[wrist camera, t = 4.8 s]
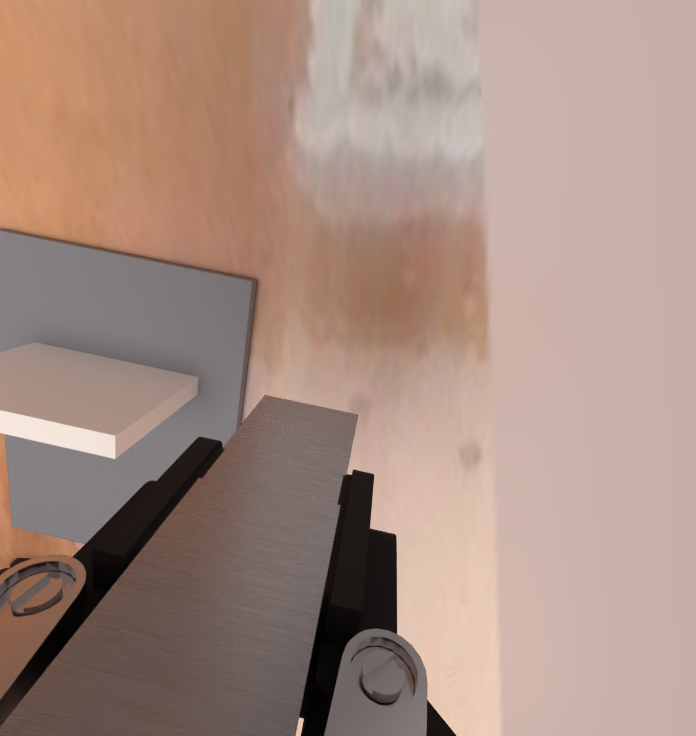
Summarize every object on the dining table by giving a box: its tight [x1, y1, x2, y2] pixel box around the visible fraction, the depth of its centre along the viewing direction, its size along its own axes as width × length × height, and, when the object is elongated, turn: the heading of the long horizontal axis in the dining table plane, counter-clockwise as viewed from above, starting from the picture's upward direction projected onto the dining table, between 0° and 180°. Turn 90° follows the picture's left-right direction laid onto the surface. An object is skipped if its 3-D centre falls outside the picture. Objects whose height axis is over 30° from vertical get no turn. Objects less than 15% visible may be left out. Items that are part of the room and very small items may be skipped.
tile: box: [0, 342, 199, 459], centre depth 25 cm, size 2×12×9 cm, turn 79°
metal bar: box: [0, 395, 358, 736], centre depth 8 cm, size 3×3×12 cm
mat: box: [0, 228, 257, 544], centre depth 31 cm, size 24×18×1 cm
